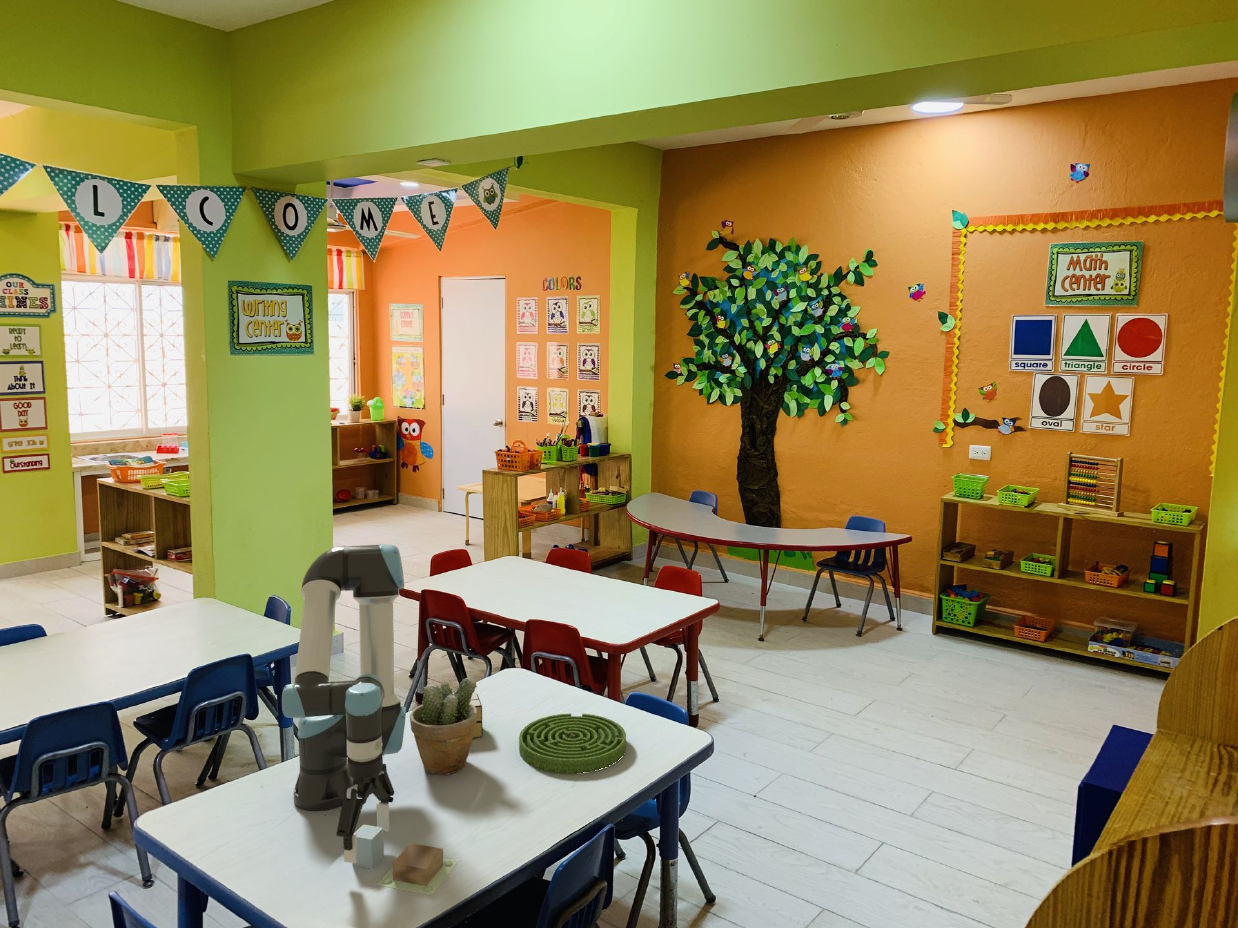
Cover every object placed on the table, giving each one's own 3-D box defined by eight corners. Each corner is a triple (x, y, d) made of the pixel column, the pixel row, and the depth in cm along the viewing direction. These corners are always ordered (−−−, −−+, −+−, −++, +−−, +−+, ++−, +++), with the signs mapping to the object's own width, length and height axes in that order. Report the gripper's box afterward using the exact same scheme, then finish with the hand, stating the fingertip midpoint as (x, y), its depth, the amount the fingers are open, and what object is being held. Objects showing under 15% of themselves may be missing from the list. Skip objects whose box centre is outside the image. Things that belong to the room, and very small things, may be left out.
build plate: (376, 888, 193) (376, 883, 193) (406, 855, 205) (406, 850, 205) (431, 899, 189) (431, 893, 189) (458, 864, 202) (458, 859, 202)
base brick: (393, 879, 194) (392, 862, 194) (410, 859, 202) (410, 842, 201) (426, 885, 192) (426, 868, 192) (443, 865, 200) (442, 848, 199)
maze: (626, 727, 275) (626, 712, 274) (624, 776, 244) (625, 759, 243) (526, 725, 276) (526, 710, 275) (512, 774, 245) (512, 757, 244)
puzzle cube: (444, 727, 273) (444, 696, 272) (477, 723, 276) (477, 692, 275) (448, 741, 264) (448, 709, 262) (482, 737, 267) (482, 705, 265)
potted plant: (427, 788, 236) (425, 698, 233) (399, 761, 251) (397, 676, 247) (489, 769, 247) (488, 682, 243) (459, 744, 262) (458, 662, 258)
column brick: (352, 869, 200) (351, 835, 199) (364, 856, 205) (363, 824, 204) (372, 872, 199) (371, 839, 197) (384, 860, 203) (383, 827, 202)
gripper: (348, 782, 185) (351, 878, 188) (407, 734, 209) (409, 819, 211) (316, 777, 187) (320, 873, 189) (379, 730, 211) (381, 815, 213)
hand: (367, 845), depth 200 cm, fingers open, 13 cm apart
